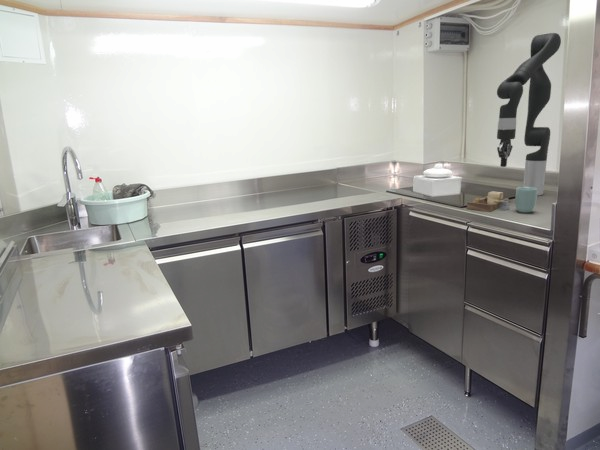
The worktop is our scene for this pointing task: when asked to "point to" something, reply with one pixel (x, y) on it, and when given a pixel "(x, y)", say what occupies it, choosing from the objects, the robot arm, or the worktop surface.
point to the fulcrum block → (503, 205)
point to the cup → (525, 199)
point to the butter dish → (437, 182)
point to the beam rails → (481, 206)
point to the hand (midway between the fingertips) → (503, 166)
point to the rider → (494, 197)
